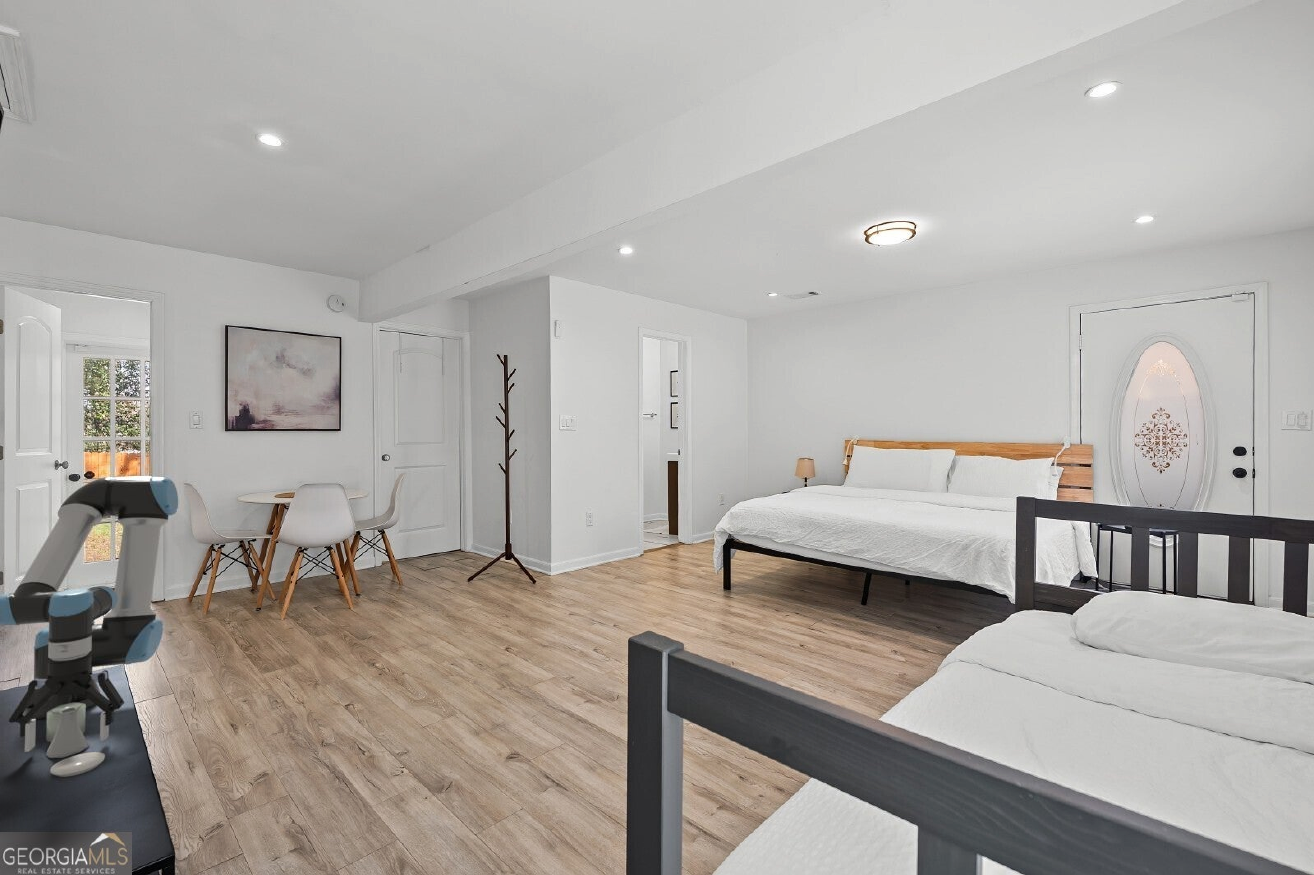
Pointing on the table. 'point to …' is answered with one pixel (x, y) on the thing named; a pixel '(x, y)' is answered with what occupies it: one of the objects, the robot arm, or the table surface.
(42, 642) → the robot arm
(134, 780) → the table surface
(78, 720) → the white cylindrical tub
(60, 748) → the flask
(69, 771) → the dish
